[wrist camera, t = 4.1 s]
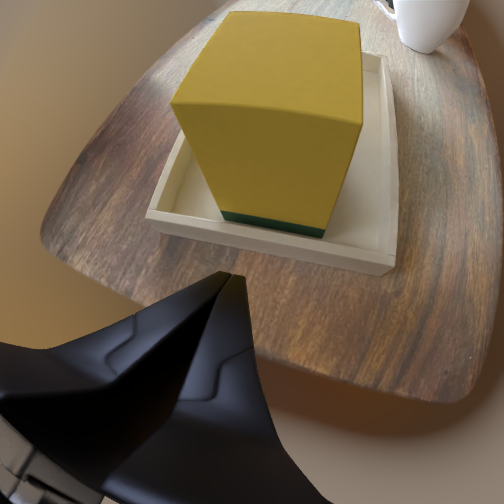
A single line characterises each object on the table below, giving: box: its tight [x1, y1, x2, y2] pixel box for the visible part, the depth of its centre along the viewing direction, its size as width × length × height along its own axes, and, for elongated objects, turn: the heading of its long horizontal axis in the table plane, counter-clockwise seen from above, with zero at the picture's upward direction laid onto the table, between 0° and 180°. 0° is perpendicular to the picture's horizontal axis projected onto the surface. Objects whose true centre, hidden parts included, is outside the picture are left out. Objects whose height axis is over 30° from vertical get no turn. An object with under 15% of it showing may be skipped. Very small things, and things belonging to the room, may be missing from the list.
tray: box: [145, 50, 399, 277], centre depth 18 cm, size 19×14×2 cm
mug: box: [372, 0, 470, 54], centre depth 18 cm, size 12×8×11 cm
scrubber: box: [170, 11, 363, 239], centre depth 13 cm, size 7×6×10 cm
